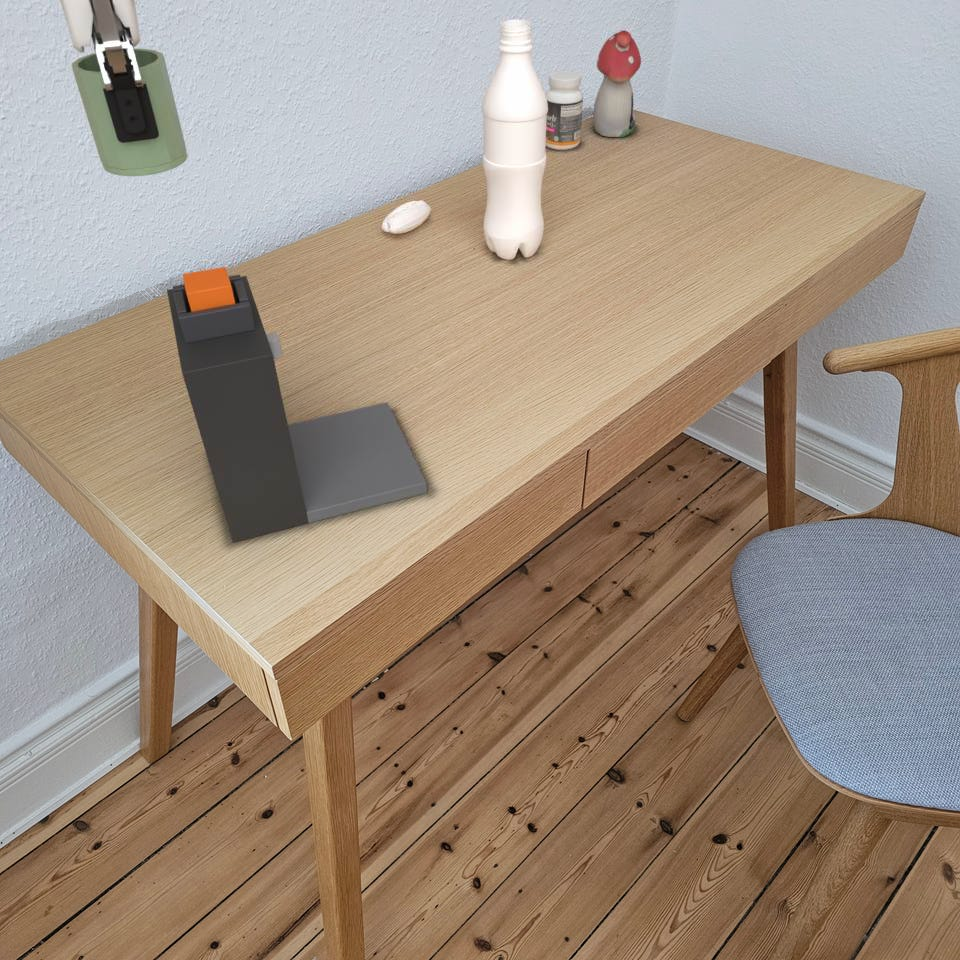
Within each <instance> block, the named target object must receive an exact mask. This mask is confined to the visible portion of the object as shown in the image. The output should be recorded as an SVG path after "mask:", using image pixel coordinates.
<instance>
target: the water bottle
mask: <svg viewBox="0 0 960 960" xmlns="http://www.w3.org/2000/svg"><path fill="white" fill-rule="evenodd" d="M500 26H501V27H500V31H501V32H500V34H501V38H500V39H499V42H500V43H499V44H498V50H499V51H500V56H499V60H498V64H497V67H496V69H495V71H494V73H493V75H492V77H491V79H490V81H489V84H488V86H487V88H486V91H485V93H484V96H483V100H482V106H481V113H482V115H483V117H482V118H483V153H482V168H483V172H484V176H485V179H486V181H485V182H486V194H487V195H486V197H487V198H486V206H485V207H486V208H485V214H484V217H483V218H484V219H483V235H484V241H485V243H486V246H487V249H489V251H491V252H492V253H495V254H496V255H497V257H498V258H501V259H502V260H507V261H511V260H514V259H515V257H516V256H517V253H518V250H519V251H520V253H521V255H522V256H523V257H524V258H530V257H532V256H533V255H535V254H536V252H537V251H538V249H539V247H540V245H541V243H542V240H543V236H544V229H545V220H544V215H543V211H542V186H543V185H542V184H543V179H544V175H545V171H546V167H547V153H546V147H547V146H546V119H547V112H548V103H547V98H546V92H545V89H544V87H543V84H542V82H541V80H540V77H539V75H538V73H537V71H536V69H535V66H534V64H533V59H532V56H531V55H532V54H531V51H533V49H534V45H533V44H532V38H531V34H532V33H531V31H532V30H531V27H532V26H531V22H530V21H529V20H525V19H507V20H503V21H502V22H501V24H500Z"/></svg>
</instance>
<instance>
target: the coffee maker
mask: <svg viewBox="0 0 960 960" xmlns="http://www.w3.org/2000/svg"><path fill="white" fill-rule="evenodd" d="M228 276H229V280H230V283H231V286H232V291H233V295H234V299H235V303H236V304H232V305H226V306H221V307H216V308H210V309H205V310H200V311H194V312H191V308H190V305H189V301H188V297H187V294H186V289H185V285H184V283H183V284H178V285H173V286H172V288H170V289H167V290H166V295H167V299H168V304H169V309H170V314H171V320H172V326H173V331H174V337H175V342H176V348H177V353H178V359H179V363H180V364H179V365H180V369H181V374H182V377H183V381H184V384H185V387H186V391H187V395H188V397H189V401H190V404H191V408H192V410H193V411H192V412H193V414H194V417H195V421H196V424H197V428H198V431H199V434H200V438H201V440H202V444H203V447H204V451H205V455H206V458H207V461H208V464H209V468H210V471H211V474H212V477H213V478H212V479H213V481H214V484H215V487H216V491H217V494H218V497H219V501H220V504H221V507H222V511H223V514H224V518H225V521H226V524H227V527H228V531H229V534H230V535H229V536H230V538H231V540H232V543H233V544H234V543H238V542H241V541H246V540H250V539H254V538H257V537H261V536H265V535H268V534H273V533H277V532H281V531H285V530H288V529H293V528H297V527H301V526H305V525H308V524H309V523H310V524H311V523H314V522H319V521H323V520H326V519H331V518H334V517H337V516H342V515H346V514H351V513H353V512H358V511H362V510H366V509H369V508H373V507H377V506H381V505H385V504H389V503H393V502H398V501H400V500H405V499H409V498H413V497H417V496H419V495H424V494H427V493H428V485H427V481H426V478H425V477H424V475H423V473H422V470H421V468H420V466H419V464H418V462H417V460H416V458H415V456H414V454H413V452H412V450H411V448H410V446H409V444H408V441H407V439H406V437H405V435H404V433H403V431H402V429H401V428H400V425H399V423H398V421H397V419H396V417H395V416H394V413H393V411H392V409H391V407H390V405H389V402H382V403H378V404H377V403H376V404H373V405H369V406H363V407H361V408H360V407H359V408H355V409H351V410H347V411H343V412H338V413H333V414H330V415H324V416H320V417H315V418H311V419H307V420H302V421H299V422H293V423H288V419H287V414H286V410H285V404H284V401H283V395H282V391H281V386H280V382H279V377H278V376H279V375H278V372H277V367H276V362H275V360H277V359H281V358H282V356H283V354H284V352H283V349H282V343H281V338H280V335H279V334H278V333H276V332H269V333H266V330H265V327H264V324H263V321H262V319H261V316H260V315H261V314H260V312H259V308H258V305H257V303H256V300H255V297H254V294H253V292H252V288H251V285H250V281H249V280H248V276H247V275H241V274H240V273H239V274H234V275H228Z"/></svg>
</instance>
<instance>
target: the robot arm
mask: <svg viewBox="0 0 960 960" xmlns="http://www.w3.org/2000/svg"><path fill="white" fill-rule="evenodd" d="M60 4H61V7H62V11H63V14H64V18H65V21H66V26H67V28H68V31H69V35H70V38H71V42H72V46H73V49H75V50H76V51H77V52H79V53H85V47H91V43H92V45H93V51H94V53H96V55H97V59H98V62H99V66H100V70H101V73H102V77H103V81H104V84H105V88H104V89H103V92H104V95H105V98H106V102H107V105H108V109H109V112H110V116H111V119H112V122H113V126H114V129H115V133H116V136H117V139H118V141H119V142H121V143H126V142H133V141H141V140H148V139H155V138H157V137H158V136H159V132H158V128H157V124H156V120H155V116H154V112H153V108H152V104H151V101H150V97H149V93H148V89H147V85H146V83H145V84H143V83H142V79H141V75H140V71H139V67H138V64H137V60H136V56H135V52H134V49H135V47H136V46H138V45H139V43H140V42H141V36H140V28H139V20H138V13H137V7H136V2H135V0H60ZM126 53H128V55H124V54H126ZM105 56H107V57H105ZM128 56H129V57H128ZM132 72H133V74H132ZM133 75H134V78H133ZM135 83H136V85H135ZM112 85H113V86H112Z"/></svg>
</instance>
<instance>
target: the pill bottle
mask: <svg viewBox="0 0 960 960" xmlns="http://www.w3.org/2000/svg"><path fill="white" fill-rule="evenodd" d="M581 84H582V75H581V73H580V72H578V71H574V70H567V69H566V70H565V69H564V70H554V71H552V72H550V73H549V74H548V86H549V89H548V90H547V91H546V92H545V94H546V98H547V103H548V112H547V119H546V146H545V147H547V148H549V149H552V150H559V151H565V150H571V149H575V148H576V147H578V146H579V145H580V144H581V135H582V119H583V105H584V94H583V92H582V90H581V89H579V87H580V86H581Z"/></svg>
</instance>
